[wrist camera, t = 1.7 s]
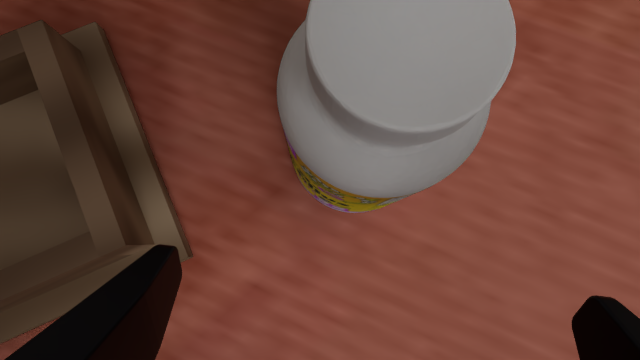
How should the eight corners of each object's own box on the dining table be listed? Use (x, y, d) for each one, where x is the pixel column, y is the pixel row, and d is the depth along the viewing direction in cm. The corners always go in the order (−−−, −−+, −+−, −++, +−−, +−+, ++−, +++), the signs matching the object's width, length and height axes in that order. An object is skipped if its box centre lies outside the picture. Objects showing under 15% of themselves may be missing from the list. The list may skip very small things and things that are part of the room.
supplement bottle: (270, 131, 21) (203, -30, 8) (373, 75, 22) (455, -154, 9) (331, 238, 20) (358, 236, 8) (436, 177, 21) (624, 80, 8)
